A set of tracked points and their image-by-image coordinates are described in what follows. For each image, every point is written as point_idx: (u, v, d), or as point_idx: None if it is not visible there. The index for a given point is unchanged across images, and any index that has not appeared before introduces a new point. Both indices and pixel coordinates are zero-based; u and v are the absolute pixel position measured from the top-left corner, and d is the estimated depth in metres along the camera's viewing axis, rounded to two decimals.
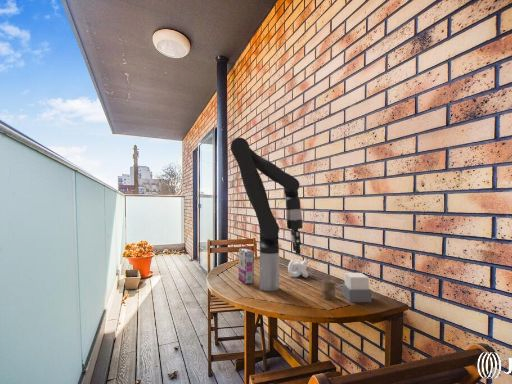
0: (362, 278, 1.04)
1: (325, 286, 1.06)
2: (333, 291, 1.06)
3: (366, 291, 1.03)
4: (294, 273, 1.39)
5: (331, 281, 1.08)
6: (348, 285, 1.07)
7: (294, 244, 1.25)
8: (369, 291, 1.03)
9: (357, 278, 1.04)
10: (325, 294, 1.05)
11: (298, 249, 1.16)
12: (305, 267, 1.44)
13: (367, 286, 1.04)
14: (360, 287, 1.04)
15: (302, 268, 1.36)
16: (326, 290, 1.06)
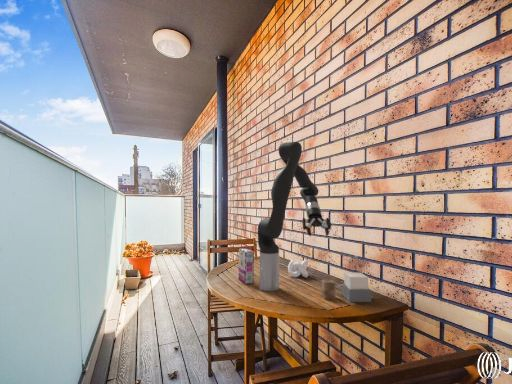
0: (361, 278, 1.04)
1: (325, 286, 1.06)
2: (333, 291, 1.05)
3: (366, 291, 1.03)
4: (294, 273, 1.39)
5: (331, 281, 1.08)
6: (348, 285, 1.07)
7: (309, 229, 1.27)
8: (369, 291, 1.03)
9: (356, 278, 1.05)
10: (325, 294, 1.05)
11: None
12: (305, 267, 1.44)
13: (366, 286, 1.04)
14: (359, 287, 1.04)
15: (302, 268, 1.36)
16: (326, 290, 1.06)
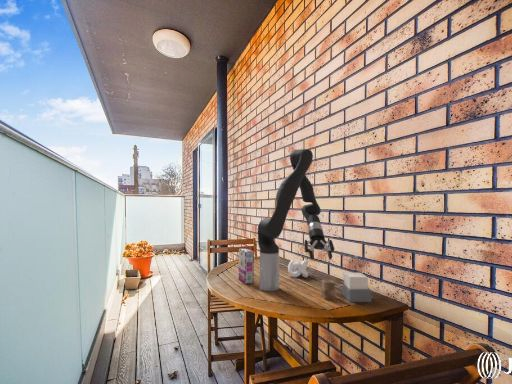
0: (361, 278, 1.05)
1: (325, 286, 1.06)
2: (333, 291, 1.05)
3: (366, 291, 1.03)
4: (294, 273, 1.39)
5: (331, 281, 1.08)
6: (347, 285, 1.07)
7: None
8: (369, 291, 1.03)
9: (356, 278, 1.05)
10: (325, 294, 1.05)
11: None
12: (305, 267, 1.44)
13: (366, 286, 1.04)
14: (359, 287, 1.04)
15: (302, 268, 1.36)
16: (326, 290, 1.06)
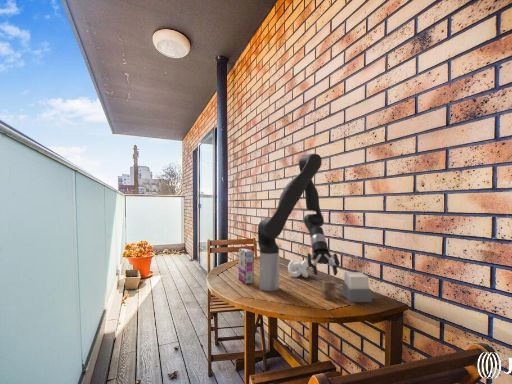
0: (362, 277, 1.05)
1: (325, 286, 1.06)
2: (333, 291, 1.05)
3: (366, 291, 1.03)
4: (294, 273, 1.39)
5: (331, 281, 1.08)
6: (348, 284, 1.07)
7: (315, 267, 1.14)
8: (369, 291, 1.03)
9: (357, 277, 1.05)
10: (325, 294, 1.05)
11: None
12: (305, 267, 1.44)
13: (367, 285, 1.05)
14: (360, 286, 1.05)
15: (302, 268, 1.36)
16: (326, 290, 1.06)
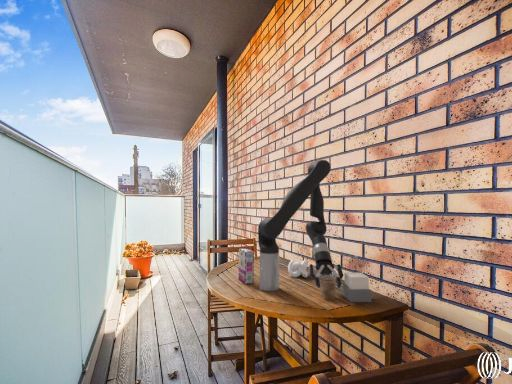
0: (362, 278, 1.04)
1: (325, 286, 1.06)
2: (333, 291, 1.05)
3: (366, 291, 1.03)
4: (294, 273, 1.39)
5: (331, 281, 1.08)
6: (348, 285, 1.07)
7: (318, 279, 1.09)
8: (369, 291, 1.03)
9: (357, 278, 1.04)
10: (325, 294, 1.05)
11: None
12: (305, 267, 1.44)
13: (367, 286, 1.04)
14: (360, 287, 1.04)
15: (302, 268, 1.36)
16: (326, 290, 1.06)
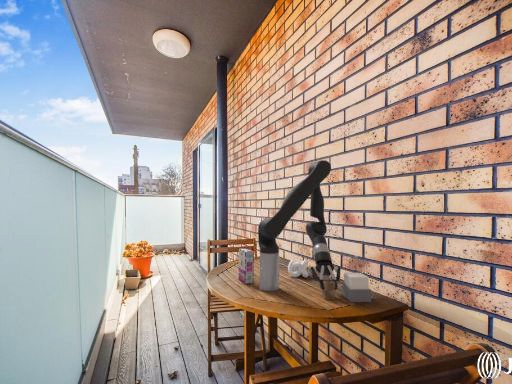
0: (362, 278, 1.04)
1: (325, 286, 1.06)
2: (333, 291, 1.05)
3: (366, 291, 1.03)
4: (294, 273, 1.39)
5: (331, 281, 1.08)
6: (348, 285, 1.07)
7: (322, 282, 1.08)
8: (369, 291, 1.03)
9: (357, 278, 1.04)
10: (325, 294, 1.05)
11: None
12: (305, 267, 1.44)
13: (367, 286, 1.04)
14: (360, 287, 1.04)
15: (302, 268, 1.36)
16: (326, 290, 1.06)
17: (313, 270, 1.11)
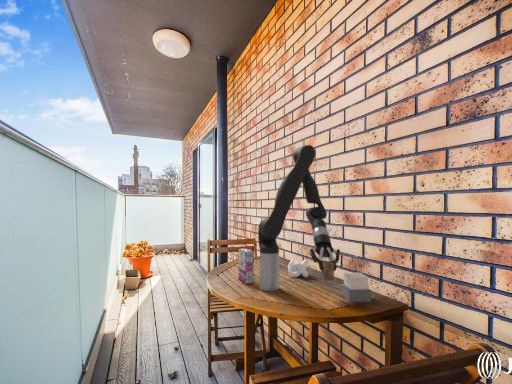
0: (362, 278, 1.04)
1: (324, 267, 1.06)
2: (332, 272, 1.06)
3: (366, 291, 1.03)
4: (294, 273, 1.39)
5: (330, 262, 1.08)
6: (348, 285, 1.07)
7: None
8: (369, 291, 1.03)
9: (357, 278, 1.04)
10: (324, 274, 1.06)
11: None
12: (305, 267, 1.44)
13: (367, 286, 1.04)
14: (360, 287, 1.04)
15: (302, 268, 1.36)
16: (325, 271, 1.06)
17: (312, 251, 1.12)
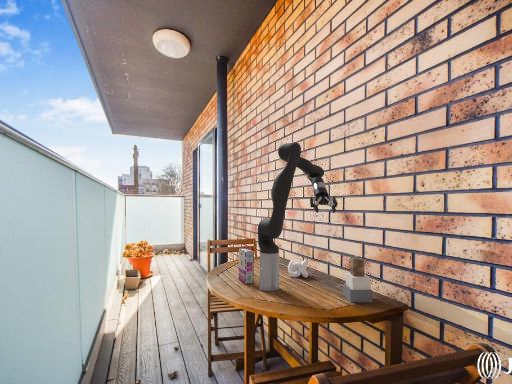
0: (364, 278, 1.04)
1: (354, 263, 1.06)
2: (362, 268, 1.06)
3: (367, 291, 1.03)
4: (294, 273, 1.39)
5: (360, 258, 1.08)
6: (350, 285, 1.06)
7: None
8: (370, 291, 1.03)
9: (359, 278, 1.04)
10: (354, 271, 1.06)
11: None
12: (305, 267, 1.44)
13: (369, 286, 1.04)
14: (362, 287, 1.04)
15: (302, 268, 1.36)
16: (355, 267, 1.06)
17: (311, 199, 1.36)
